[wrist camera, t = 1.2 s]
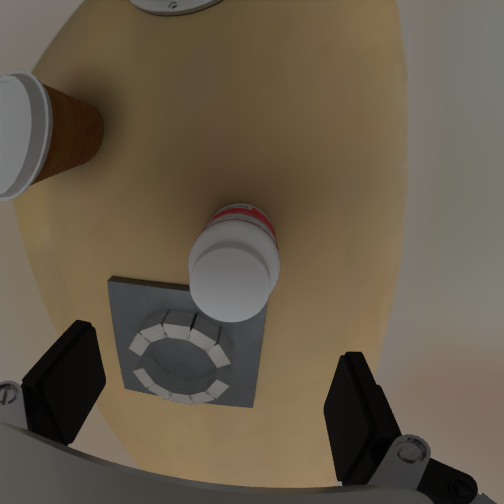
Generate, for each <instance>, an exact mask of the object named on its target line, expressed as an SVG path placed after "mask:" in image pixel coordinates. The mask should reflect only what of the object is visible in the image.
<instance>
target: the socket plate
mask: <svg viewBox="0 0 504 504" xmlns="http://www.w3.org/2000/svg"><path fill="white" fill-rule="evenodd" d="M107 282H108V291H109V300H110V308H111V315H112V322H113V329H114V335H115V341H116V347H117V352H118V358H119V363H120V368H121V373H122V378H123V382H124V387H125V389H129V390H133V391H138V392H143V393H147V394H153V395H158V396H160V397H162V398H164V399H166V400H168V399H169V398H170V401H171V402H177V403H184V404H190V405H192V403H194V404H195V405H196V404H200V403H209V404H217V405H226V406H237V407H248V408H253V402H254V395H255V388H256V381H257V374H258V367H259V359H260V352H261V345H262V337H263V330H264V322H265V314H266V307H267V302H266V304H265V306H264V307H263V308H262V309H261V310H260V312H258V313H257V314H256V315H254V316H253V317H251V318H249V319H247V320H244V321H239V322H223V321H219V320H216V319H214V318H211V317H210V316H208V315H206V314H205V313H204V312H203V311H201V309H200V308H199V307H198V306H197V305H196V303H195V302H194V300H193V298H192V295H191V292H190V286H186V285H178V284H169V283H161V282H153V281H145V280H137V279H129V278H122V277H114V276H112V277H111V278H110V279H109V280H108V281H107Z"/></svg>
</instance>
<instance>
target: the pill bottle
mask: <svg viewBox="0 0 504 504" xmlns="http://www.w3.org/2000/svg"><path fill="white" fill-rule="evenodd" d="M188 270H189V275H190V280H189V286H190V292H191V295H192V298H193V300H194V302H195V303H196V305H197V306H198V307H199V308H200V309H201V311H203V312H204V313H205V314H206V315H208V316H210V317H211V318H214V319H216V320H219V321H223V322H239V321H244V320H247V319H249V318H251V317H253V316H254V315H256V314H257V313H258V312H260V310H261V309H262V308H263V307H264V306H265V304H266V302H267V300H268V298H269V295H270V293H271V292H272V291H273V289H274V287H275V286H276V284H277V281H278V278H279V274H280V257H279V252H278V247H277V242H276V237H275V232H274V228H273V225H272V223H271V221H270V220H269V218H268V217H267V215H266V214H265V213H264V212H263V211H261V210H260V209H258V208H257V207H255V206H252V205H249V204H244V203H235V204H230V205H228V206H225V207H223V208H221V209H220V210H219V211H217V212H216V213H215V214H214V215H213V216H212V218H211V219H210V220H209V222H208V223H207V225H206V226H205V228H204V229H203V230H202V232H201V233H200V235H199V236H198V237H197V239H196V240H195V242H194V244H193V246H192V248H191V251H190V254H189V260H188Z"/></svg>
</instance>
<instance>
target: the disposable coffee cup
mask: <svg viewBox="0 0 504 504" xmlns="http://www.w3.org/2000/svg"><path fill="white" fill-rule="evenodd" d="M102 138H103V123H102V119H101V117H100V114H99V113H98V112H97V110H96V109H95V108H93V107H92V106H90V105H88V104H85V103H83V102H81V101H79V100H77V99H75V98H73V97H71V96H68V95H66V94H64V93H62V92H60V91H58V90H55V89H53V88H51V87H49V86H46V85H44V84H42V83H41V82H40V80H39V79H38V78H36V77H35V76H34V75H33V74H32V73H29V72H26V71H14V72H11V73H8V74H6V75H4V76H0V200H1V201H5V200H11V199H13V198H15V197H17V196H19V195H20V194H22V193H23V192H24V191H25V190H26V189H27V188H28V187H29V186H30V185H33V184H35V183H37V182H39V181H42V180H43V179H46V178H48V177H51V176H53V175H55V174H58V173H60V172H63V171H65V170H68V169H70V168H73V167H76V166H78V165H81V164H84V163H86V162H88V161H89V160H90V159H91V158H92V157H93V156H94V155H95V154H96V152H97V151H98V149H99V146H100V144H101V141H102Z"/></svg>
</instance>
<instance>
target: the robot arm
mask: <svg viewBox="0 0 504 504" xmlns="http://www.w3.org/2000/svg"><path fill="white" fill-rule="evenodd" d="M129 1H130V2H131V3H132V4H133V5H134V6H135V7H137V8H138V9H140V10H142V11H144V12H147V13H151V14H155V15H164V16H168V15H181V14H187V13H192V12H195V11H198V10H202V9H204V8H207V7H209V6H211V5H214V4H216V3H217V2H219V1H221V0H129ZM175 7H176V8H175ZM22 381H23V383H22V384H21V386H20V385H19V384H18V383H16V382H14V381H3V382H0V504H497V503H495V502H494V501H493V500H491V499H490V498H489V497H488V496H486V495H485V494H484V493H482V494H481V495H479V494H478V493H477V492H478V488H477V483H476V481H475V480H474V479H473V478H472V477H471V476H470V475H468V474H465V473H463V472H461V471H459V470H456V469H454V468H452V467H450V466H447V465H445V464H443V463H441V462H439V461H436V460H434V459H432V458H430V455H431V451H430V447H429V446H428V444H427V442H426V441H424V440H423V439H422V438H420V437H419V436H415V435H409V434H406V435H402V434H401V431H400V429H399V427H398V424H397V422H396V420H395V417H394V415H393V413H392V410H391V408H390V406H389V403H388V401H387V399H386V397H385V394H384V392H383V390H382V388H381V386H380V385H377V384H376V382H375V380H374V378H373V375H372V373H371V371H370V369H369V366H368V364H367V362H366V360H365V358H364V355H363V353H362V352H346V353H345V355H341V356H340V359H339V362H338V365H337V368H336V371H335V374H334V378H333V381H332V384H331V387H330V390H329V392H328V395H327V398H326V401H325V404H324V416H325V421H326V426H327V431H328V436H329V441H330V446H331V451H332V456H333V461H334V466H335V472H336V477H337V480H338V481H342V485H343V486H333V487H313V488H267V487H247V486H234V485H224V484H215V483H207V482H200V481H193V480H187V479H181V478H176V477H171V476H166V475H161V474H156V473H152V472H147V471H143V470H139V469H135V468H131V467H128V466H124V465H120V464H117V463H114V462H110V461H107V460H104V459H101V458H98V457H94V456H92V455H89V454H86V453H83V452H81V451H78V450H75V449H72V448H70V447H67V446H68V444H71V443H72V442H73V441H74V440H75V438H76V436H77V434H78V432H79V430H80V429H81V427H82V425H83V423H84V421H85V419H86V418H87V416H88V414H89V412H90V411H91V409H92V407H93V405H94V404H95V402H96V400H97V399H98V397H99V395H100V393H101V392H102V390H103V388H104V386H105V384H106V376H105V372H104V368H103V364H102V359H101V355H100V350H99V345H98V340H97V335H96V330H95V328H94V327H92V324H91V323H90V322H86V321H82V320H76V321H75V322H74V323H73V324H72V325H71V326H70V327H69V328H68V329H67V330H66V331H65V332H64V333H63V334H62V336H61V337H60V338H59V339H58V340H57V341H56V342H55V343H54V344H53V345H52V346H51V347H50V349H49V350H48V351H47V352H46V353H45V354H44V355H43V356H42V357H41V359H40V360H39V361H38V362H37V363H36V364H35V365H34V366H33V367H32V369H31V370H30V371H29V372H28V373H27V374H26V376H25V377H24V378H23V379H22Z"/></svg>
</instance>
